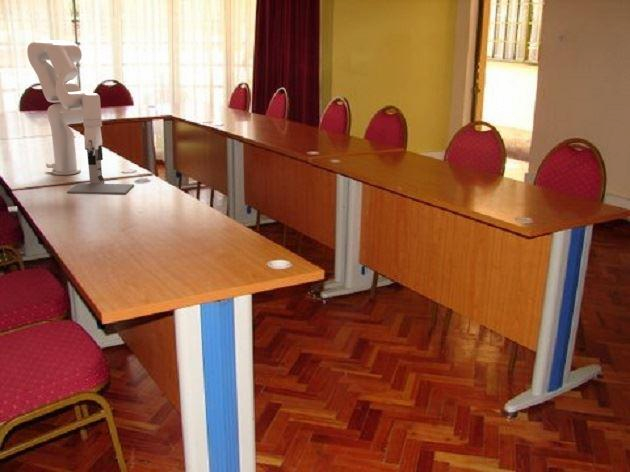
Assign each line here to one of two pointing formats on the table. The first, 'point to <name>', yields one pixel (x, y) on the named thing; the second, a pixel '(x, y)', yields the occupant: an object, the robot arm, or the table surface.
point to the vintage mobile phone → (96, 168)
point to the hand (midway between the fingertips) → (95, 162)
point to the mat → (101, 188)
